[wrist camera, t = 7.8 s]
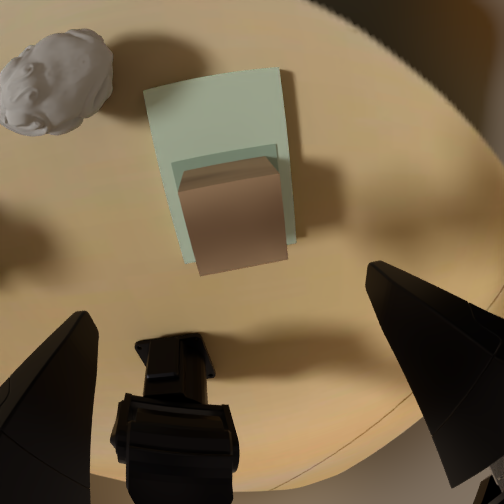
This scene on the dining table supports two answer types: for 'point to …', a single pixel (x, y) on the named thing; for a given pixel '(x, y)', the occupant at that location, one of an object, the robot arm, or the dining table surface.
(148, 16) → the dining table surface
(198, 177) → the walnut block
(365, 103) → the dining table surface
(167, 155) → the base board
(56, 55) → the grey lumpy rounded piece
